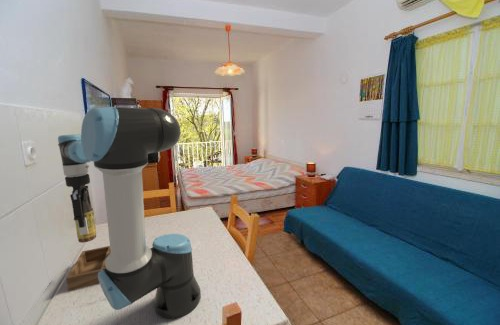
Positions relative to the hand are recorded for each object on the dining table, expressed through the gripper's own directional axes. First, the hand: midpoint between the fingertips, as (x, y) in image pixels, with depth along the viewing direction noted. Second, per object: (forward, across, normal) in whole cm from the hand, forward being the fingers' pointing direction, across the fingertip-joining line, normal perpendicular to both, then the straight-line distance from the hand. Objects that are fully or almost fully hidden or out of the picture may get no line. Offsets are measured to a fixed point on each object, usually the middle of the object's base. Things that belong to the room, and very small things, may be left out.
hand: (86, 230), depth 93 cm
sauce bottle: (+4, 0, 0) cm, 4 cm away
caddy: (+19, 0, -5) cm, 20 cm away
